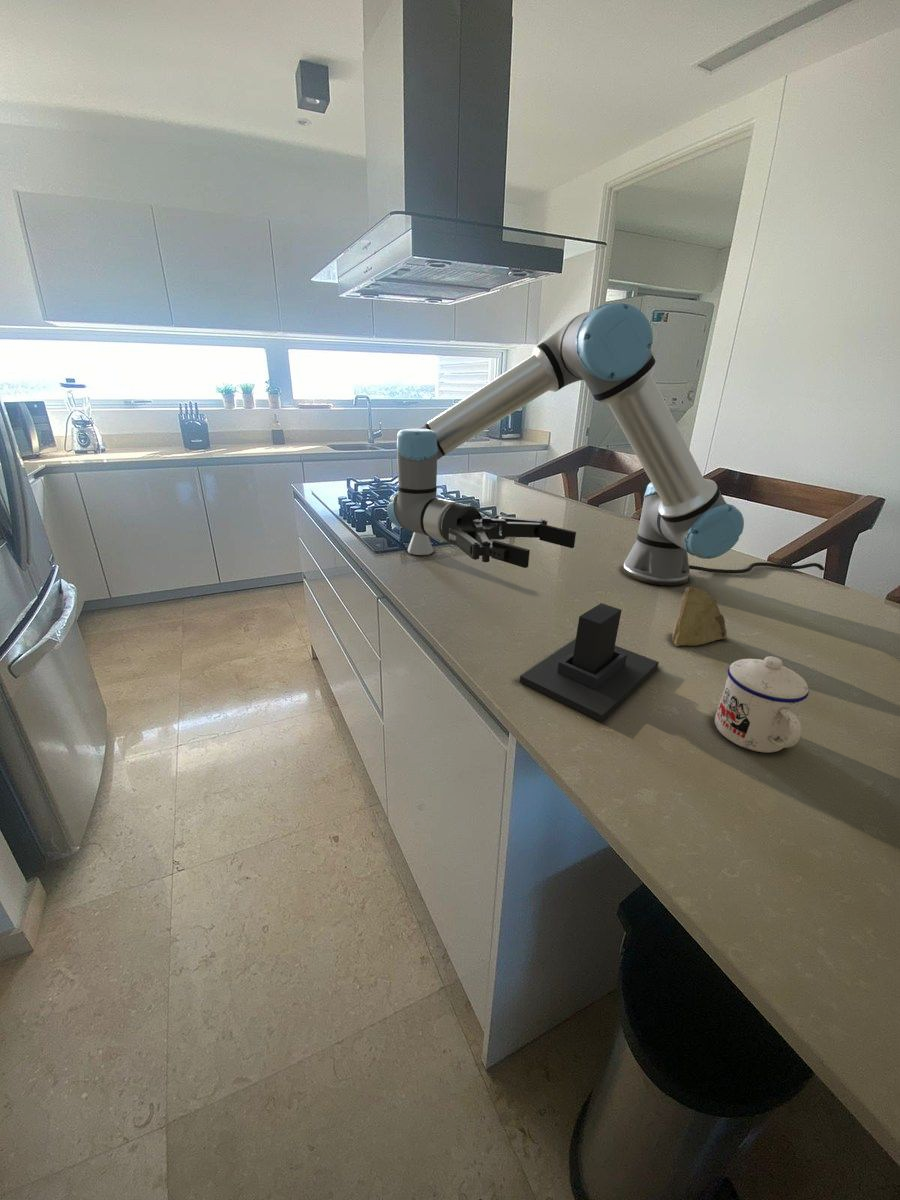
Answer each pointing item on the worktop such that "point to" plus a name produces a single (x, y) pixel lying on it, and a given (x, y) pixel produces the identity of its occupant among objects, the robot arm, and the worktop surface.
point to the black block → (596, 638)
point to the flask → (420, 545)
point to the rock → (698, 619)
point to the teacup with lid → (761, 705)
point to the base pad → (589, 680)
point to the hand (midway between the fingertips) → (552, 549)
